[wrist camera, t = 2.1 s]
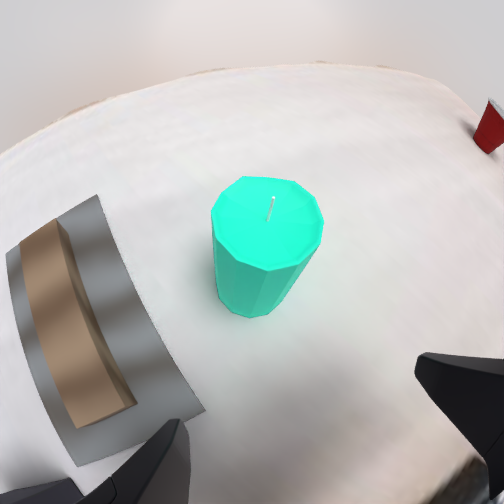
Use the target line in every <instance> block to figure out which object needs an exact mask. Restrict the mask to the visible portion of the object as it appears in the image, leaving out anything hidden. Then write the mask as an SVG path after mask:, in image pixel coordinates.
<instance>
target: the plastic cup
mask: <svg viewBox="0 0 504 504" xmlns="http://www.w3.org/2000/svg"><path fill="white" fill-rule="evenodd" d="M488 100H489V101H488V104H487V107H486V110H485V112H484V114H483V116H482V119H481V121H480V123H479V125H478V128H477V130H476V132H475V134H474V137H473V138H474V141H475V142H476V144H477V145H478V146H479V147H480V148H481V149H482V150H483V151H484V152H485V153H487V154H489V153H491V152H492V151H494V150H495V149H496V148H497V147H499V146H500V145H501V144H503V143H504V110H503V109H502V108H501V107H500V106H499V105H498V104H497V103H496V102H495V101H494V100H493V99H492V98H490V97H489V99H488Z"/></svg>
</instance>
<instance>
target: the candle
mask: <svg viewBox="0 0 504 504" xmlns="http://www.w3.org/2000/svg"><path fill="white" fill-rule="evenodd" d="M211 220H212V236H213V251H214V264H215V277H216V285H217V290H218V295H219V299H220V300H221V301H222V302H223V303H224V304H225V306H226V307H227V308H228V309H229V310H230V311H231V312H232V313H235V314H238V315H242V316H245V317H248V318H252V317H257V316H262V315H267V314H269V313H270V312H271V311H272V310H273V309H274V308H275V307H276V306H277V305H279V304H280V303H281V301H282V300H283V299H284V297H285V296H286V294H287V293H288V291H289V290H290V288H291V287H292V285H293V284H294V283H295V281H296V280H297V278H298V277H299V275H300V274H301V272H302V271H303V269H304V268H305V266H306V265H307V263H308V262H309V260H310V259H311V257H312V256H313V254H314V253H315V251H316V250H317V248H318V246H319V245H320V243H321V237H322V231H323V225H324V220H323V217H322V214H321V212H320V209H319V207H318V204H317V202H316V199H315V197H314V196H312V195H311V194H310V193H309V192H307V191H306V190H305V189H304V188H302V187H301V186H300V185H299V184H297V183H296V182H295V181H289V180H283V179H276V178H269V177H247V176H243V177H241V178H240V179H239V180H237V181H236V182H235V183H233V184H232V185H231V186H229V187H228V188H227V189H225V190H224V191H223V192H222V193H221V194H220V196H219V198H218V199H217V201H216V203H215V205H214V206H213V208H212V210H211Z"/></svg>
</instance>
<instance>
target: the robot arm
mask: <svg viewBox="0 0 504 504" xmlns="http://www.w3.org/2000/svg"><path fill="white" fill-rule="evenodd" d="M414 373H415V377H416V378H417V380H418V381H419V382H420V384H421V385H422V387H423V388H424V389H425V391H426V392H427V394H428V395H429V397H430V398H431V399H432V400H433V402H434V403H435V404H436V405H437V406H438V407H439V408H440V409H441V410H442V412H443V413H444V414H445V415H446V416H447V417H448V418H449V419H450V421H451V422H452V423H453V424H454V425H455V426H456V427H457V428H458V430H459V431H460V432H461V433H462V434H463V435H464V436H465V438H466V439H467V440H468V441H469V442H470V443H471V445H472V446H473V447H474V448H475V449H476V450H477V452H478V453H479V454H480V455H481V456H482V457H483V459H484V460H485V462H486V464H487V468H488V478H489V494H490V500H493V499H494V498H495V497H496V496H497V495H499V494H500V493H501V492H502V491H503V490H504V359H503V360H502V359H495V358H480V357H467V356H457V355H447V354H438V353H430V352H425V353H423V354H421V355H419V356H418V358H417V362H416V366H415V371H414ZM190 473H191V463H190V443H189V434H188V431H187V429H186V427H185V425H184V423H183V421H182V420H181V419H180V418H174V419H169V420H168V421H167V422H166V423H165V424H164V425H163V426H162V427H161V428H160V429H159V430H158V431H157V432H156V433H155V434H154V435H153V436H152V437H151V438H150V439H149V440H148V441H147V442H146V443H145V444H144V445H143V446H142V447H141V448H140V449H139V450H138V451H137V452H136V453H135V454H134V455H133V456H131V457H130V458H129V459H128V460H127V461H126V462H125V463H124V464H123V465H122V466H121V467H120V468H119V469H118V470H117V471H116V472H114V473H113V474H112V475H111V477H108V478H107V479H106V480H105V481H104V482H103V483H102V484H101V485H99V486H98V487H97V488H96V489H95V490H93V491H92V492H91V493H89V494H88V495H86V496H85V497H84V498H82V499H81V500H79V501H78V502H76V503H75V504H188V497H189V485H190Z"/></svg>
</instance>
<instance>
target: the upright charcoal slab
mask: <svg viewBox="0 0 504 504" xmlns="http://www.w3.org/2000/svg"><path fill="white" fill-rule="evenodd" d="M82 498H84V497H83V496H82V494H81V493H80V492H79V490H78V489H77V487H76V486H75V484H74V483H73V482H72V480H71V479H70V478H67V479H64V480H60V481H56V482H52V483H48V484H43V485H38V486H33V487H28V488H22V489H16V490H13V491H9V492H6V493H3V494H0V504H75V503H76V502H78V501H79V500H81V499H82Z"/></svg>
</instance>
